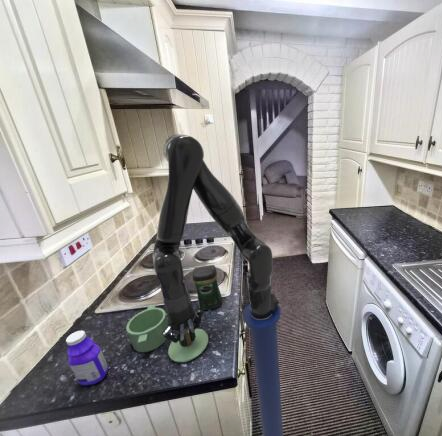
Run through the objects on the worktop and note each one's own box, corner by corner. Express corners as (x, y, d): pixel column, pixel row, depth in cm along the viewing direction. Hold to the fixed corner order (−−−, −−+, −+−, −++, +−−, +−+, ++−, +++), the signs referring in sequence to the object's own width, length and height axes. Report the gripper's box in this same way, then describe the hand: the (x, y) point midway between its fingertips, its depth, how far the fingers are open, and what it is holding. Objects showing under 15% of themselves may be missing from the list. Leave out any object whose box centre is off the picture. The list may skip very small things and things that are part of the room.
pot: (172, 316, 94) (168, 299, 91) (167, 351, 79) (161, 333, 75) (139, 324, 90) (133, 308, 87) (126, 364, 75) (119, 345, 72)
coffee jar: (222, 296, 104) (216, 261, 97) (222, 308, 97) (215, 271, 90) (200, 300, 102) (192, 264, 95) (197, 312, 95) (189, 275, 88)
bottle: (113, 365, 74) (95, 325, 68) (104, 383, 69) (83, 341, 63) (87, 371, 73) (66, 330, 67) (76, 389, 68) (52, 347, 61)
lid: (208, 326, 88) (205, 313, 86) (209, 355, 77) (206, 341, 75) (171, 337, 84) (167, 323, 82) (166, 369, 73) (161, 354, 70)
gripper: (160, 322, 66) (173, 363, 73) (204, 296, 76) (212, 334, 83) (150, 310, 71) (163, 350, 77) (192, 287, 81) (201, 324, 87)
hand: (188, 342), depth 80 cm, fingers closed on lid, 2 cm apart
